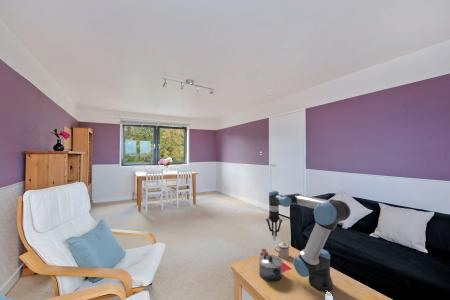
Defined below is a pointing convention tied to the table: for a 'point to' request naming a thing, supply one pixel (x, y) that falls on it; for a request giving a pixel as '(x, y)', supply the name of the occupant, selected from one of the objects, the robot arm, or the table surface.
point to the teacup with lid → (283, 250)
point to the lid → (270, 260)
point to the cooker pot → (270, 273)
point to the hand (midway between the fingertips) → (274, 240)
